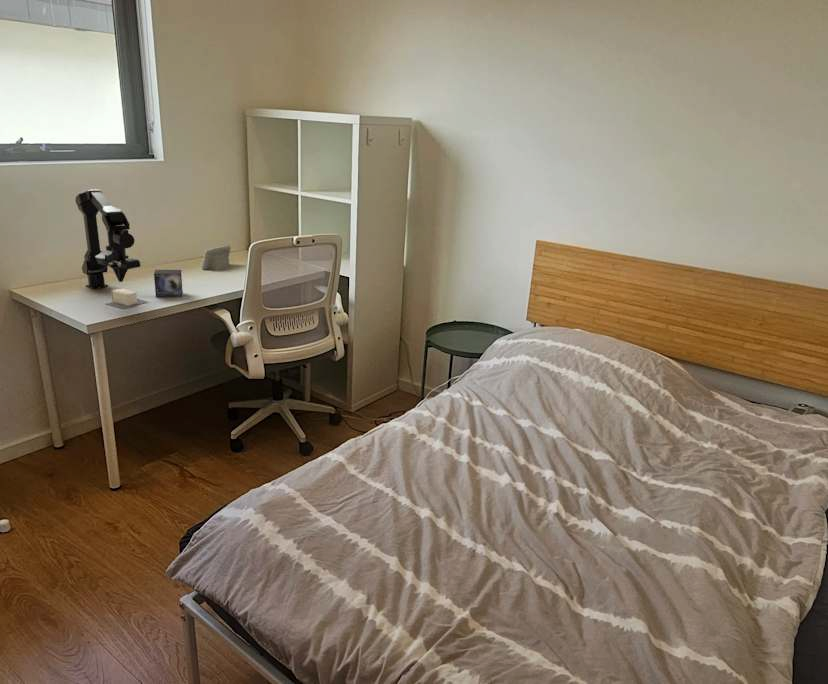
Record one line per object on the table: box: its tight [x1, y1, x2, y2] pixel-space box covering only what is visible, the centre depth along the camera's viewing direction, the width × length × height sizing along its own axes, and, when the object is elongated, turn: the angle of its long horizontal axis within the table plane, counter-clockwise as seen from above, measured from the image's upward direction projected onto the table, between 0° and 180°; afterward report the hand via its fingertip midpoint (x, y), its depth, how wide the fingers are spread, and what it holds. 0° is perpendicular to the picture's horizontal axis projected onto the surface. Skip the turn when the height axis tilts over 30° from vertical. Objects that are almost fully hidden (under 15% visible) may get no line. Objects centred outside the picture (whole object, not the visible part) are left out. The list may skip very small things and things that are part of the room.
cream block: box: [111, 287, 138, 306], centre depth 245 cm, size 4×4×9 cm
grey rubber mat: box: [105, 298, 148, 310], centre depth 245 cm, size 10×12×1 cm
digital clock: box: [201, 245, 231, 272], centre depth 303 cm, size 16×9×11 cm, turn 140°
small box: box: [153, 269, 184, 298], centre depth 257 cm, size 11×6×10 cm, turn 106°
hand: (120, 281), depth 244 cm, fingers closed
